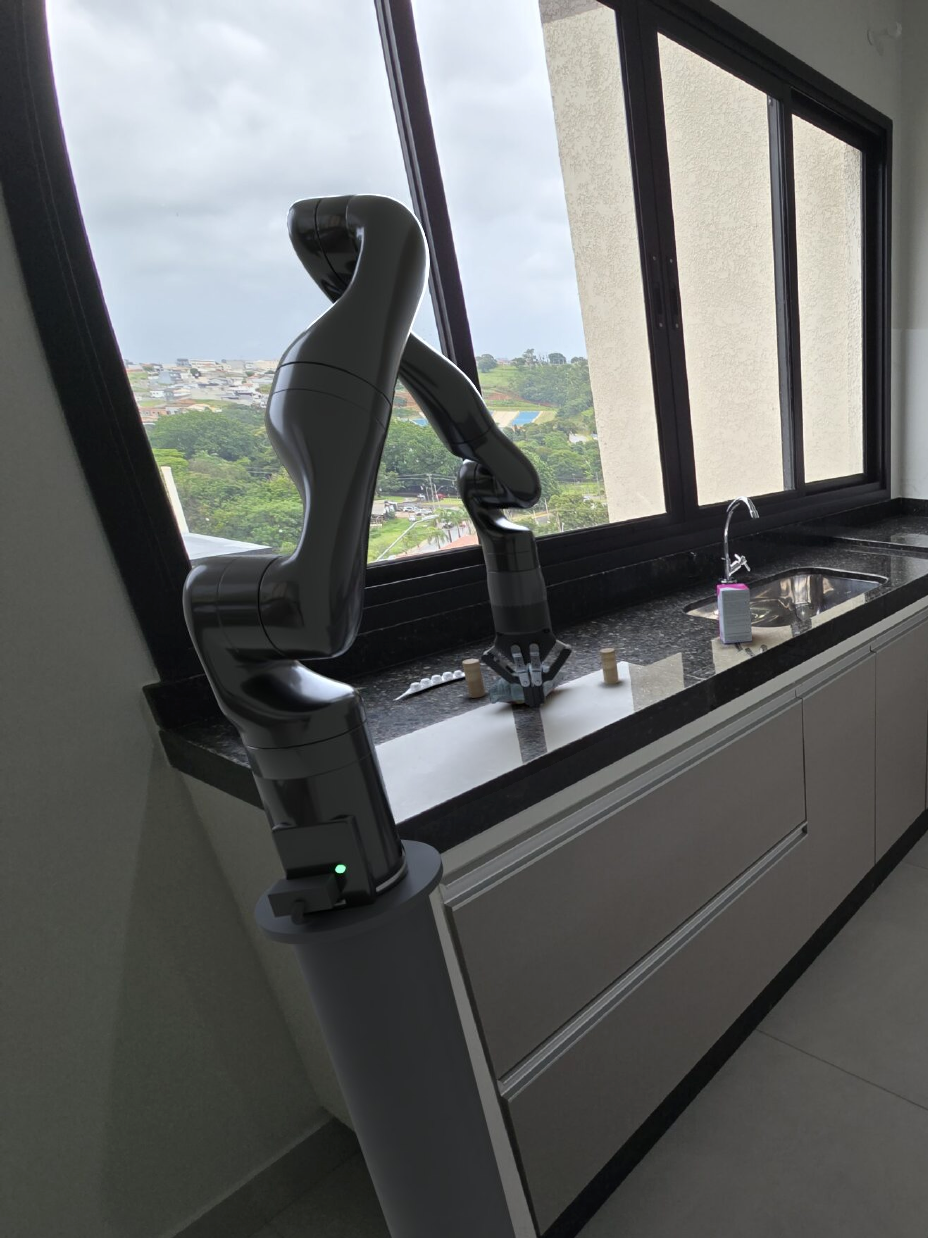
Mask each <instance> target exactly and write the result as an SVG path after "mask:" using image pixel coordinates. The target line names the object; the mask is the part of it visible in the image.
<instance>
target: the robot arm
mask: <svg viewBox="0 0 928 1238" xmlns="http://www.w3.org/2000/svg"><path fill="white" fill-rule="evenodd" d="M286 229H287V233H288V237H289V238H288V239H289V241H290V243H291V246H292V249H293V251H294V253H295V255H296V256H297V258H298V261H300V263H301V265H302V266H303V268H304V269H305V271H306V272H307V274H308V275H309V277H310V279H312V281H313V282H314V283H315V285H316V286H317V287H318V288H319V289H320V291H321V292H322V293H323V294H324V296H325V297H326V298H327V299H328V300H329V301H330V302H331V304H332V305H331V306H330V307H329V308H328V309H327V310H326V311H324V312H323V313H322V314H321V315H320V316H319V317H318V318H317V319H315V320H314V321H313V322H312V323H310V324H309V325H308V326H307V327H306V328H305V329H304V330H303V331H302V332H301V333H299V335H298V336H297V337H296V338H295V339H294V340H293V341H292V342H291V344H290V345H289V346H288V347H287V348H286V349H285V351H284V352H283V354H282V355H281V357H280V359H279V361H278V364H277V365H276V368H275V372H274V375H273V379H272V382H271V386H270V390H269V393H268V398H267V401H266V405H265V411H264V426H265V431H266V434H267V438H268V440H269V443H270V445H271V446H272V449H273V450H274V452H275V454H276V456H277V457H278V459H279V461H280V462H281V464H282V466H283V468H284V470H285V471H286V472H287V474H288V476H289V478H290V479H291V480H292V482H293V484H294V487H295V488H296V489H297V492H298V493H299V496H300V499H301V502H302V503H301V504H302V522H301V523H302V524H301V529H300V535H299V538H298V541H297V545H296V547H295V548H294V550H293V552H292V553H287V554H286V553H280V554H278V553H277V554H276V553H273V554H272V553H271V554H269V553H268V554H266V553H265V554H262V553H261V554H260V553H259V554H257V553H256V554H224V555H223V554H222V555H215V556H210V557H207V558H205V559H203V560H201V561H199V562H198V563H196V564H195V565H194V566H193V567H192V568H191V569H190V571H189V573H188V574H187V576H186V579H185V582H184V584H183V589H182V608H183V616H184V620H185V623H186V624H185V625H186V626H187V631H188V632H189V636H190V638H191V642H192V644H193V647H194V649H195V652H196V654H197V656H198V658H199V661H200V664H201V665H202V668H203V670H204V672H205V676H206V677H207V680H208V682H209V685H210V687H211V689H212V692H213V695H214V696H215V699H216V701H217V704H218V707H219V708H220V711H221V712H222V713H223V716H225V717H226V718H227V720H228V721H229V722H230V723H231V724H233V726H234V727H235V728H236V730H237V732H238V733H239V737H240V740H241V742H242V746H243V748H244V751H245V754H246V758H247V760H248V763H249V764H248V765H249V766H250V769H251V773H252V776H253V779H254V782H255V785H256V788H257V792H258V794H259V797H260V801H261V804H262V807H263V810H264V813H265V816H266V818H267V821H268V824H269V827H270V835H271V838H272V841H273V844H274V848H275V850H276V853H277V857H278V859H279V862H280V863H279V864H280V866H281V868H282V872H283V874H284V875H283V876H285V879H281V878H279V879H278V880H276V882H277V883H276V884H275V885H274V887H273V888H272V889H271V891H270V892H269V893H268V895H267V896H268V899H269V902H270V905H271V907H272V910H273V913H274V916H275V918H276V917H282V916H288V915H291V921H292V923H293V924H294V925H302V924H306V923H308V922H309V921H311V916H310V915H312V914H318V913H324V912H330V911H337V910H343V909H349V908H355V907H361V906H367V905H372V904H374V903H375V901H376V899H377V898H378V897H379V896H381V895H382V894H384V893H386V892H388V891H389V890H391V889H392V888H393V887H395V886H396V885H397V884H398V883H399V882H400V881H401V880H402V879H403V878H404V877H405V875H406V873H407V871H408V865H407V861H406V857H405V855H406V853H405V849H404V846H403V844H402V842H401V840H402V839H401V838H400V836H399V831H398V827H397V824H396V821H395V817H394V813H393V809H392V805H391V801H390V798H389V794H388V790H387V787H386V782H385V779H384V775H383V772H382V768H381V764H380V760H379V757H378V753H377V747H376V745H375V740H374V736H373V732H372V728H371V725H370V721H369V717H368V712H367V709H366V706H365V702H364V697H363V696H362V694H361V692H360V691H359V690H358V689H357V688H356V687H355V686H353V685H351V684H349V683H346V682H343V681H340V680H336V679H333V678H330V677H327V676H325V675H322V674H320V673H318V672H315V671H313V670H312V669H310V668H308V666H306V665H303V664H302V663H301V662H300V661H314V660H315V661H317V660H328V659H332V658H333V659H334V658H337V657H339V656H341V655H343V654H344V653H345V652H347V651H348V650H349V648H351V647H352V645H353V643H354V642H355V640H356V638H357V635H358V633H359V630H360V627H361V623H362V618H363V614H364V613H363V612H364V606H365V595H366V594H365V593H366V584H367V570H368V557H369V544H370V532H371V522H372V515H373V509H374V501H375V498H376V497H375V495H376V490H377V485H378V479H379V474H380V469H381V464H382V461H383V456H384V454H385V453H384V452H385V449H386V445H387V441H388V436H389V431H390V427H391V422H392V416H393V409H394V403H395V393H396V389H397V384H398V381H399V382H400V383H401V384H402V385H403V386H404V388H405V389H406V390H407V392H408V393H409V395H410V396H411V397H412V399H413V401H414V402H415V404H416V405H417V406H418V407H419V410H420V411H421V412H422V414H423V415H424V417H425V419H426V420H427V422H428V423H429V425H430V426H431V428H432V430H433V431H434V432H435V434H436V436H437V437H438V439H439V440H440V442H441V443H442V445H443V446H444V448H445V449H446V450H447V451H448V453H450V454H451V455H453V456H454V457H457V458H459V459H462V460H463V462H461V464H460V466H459V467H458V469H457V473H456V479H455V481H456V488H457V493H458V495H459V498H460V500H461V502H462V504H463V506H464V509H465V510H466V513H467V515H468V517H469V519H470V520H471V522H472V525H473V527H474V529H475V531H476V533H477V536H478V538H479V539H480V542H481V546H482V552H483V557H484V562H485V568H486V582H487V590H488V591H487V592H488V596H489V602H490V607H491V613H492V618H493V624H494V629H495V638H494V640H493V646H492V647H490V648H489V649H486V650H484V652H483V654H482V655H481V657H480V660H481V661H482V662H483V663H484V664H485V665H486V666H487V667H489V668H490V669H491V670H493V672H495V673H496V674H497V675H498V676H499V677H501V678H503V679H505V680H506V681H507V682H508V683H510V684H514V683H515V684H519V685H521V686H522V688H523V694H524V700H525V703H524V704H525V705H526V706H529V707H530V709H540V708H542V707H543V704H545V703H546V699H547V696H546V693H545V687H544V682H546V681H551V680H553V679H554V677H555V676H556V674H557V673H558V672H559V670H562V667H563V666H564V664H566V662H567V660H568V659H569V657H570V656H571V654H572V651H573V645H572V644H570V643H564V642H562V641H561V640H558V636H557V634H556V633H555V632H554V630H553V628H552V621H551V615H550V609H549V602H548V596H547V595H548V591H547V587H546V582H545V579H544V575H543V572H542V568H541V564H540V556H539V550H538V543H537V538H536V534H535V532H534V530H533V529H531V528H530V527H528V526H525V525H521V524H517V523H514V522H512V521H510V520H509V519H508V518H507V516H506V515H505V513H504V511H503V510H516V511H517V510H519V511H520V510H522V511H523V510H529V509H531V508H533V507H535V506H536V505H537V504H538V502H540V499H541V497H542V491H543V490H542V489H543V486H542V479H541V476H540V474H539V471H538V469H537V468H536V467H535V465H534V464H533V462H532V461H531V459H530V458H529V456H527V454H526V453H524V452H523V451H522V449H521V448H520V447H519V446H518V445H517V444H516V443H515V442H514V441H513V440H512V439H511V438H510V437H509V435H507V434H506V433H505V431H504V430H502V429H501V428H500V427H499V426H498V424H497V423H496V420H495V419H494V417H493V415H492V414H491V412H490V410H489V408H488V407H487V405H486V403H485V401H484V399H483V398H482V396H481V394H480V392H479V391H478V390H477V388H476V386H475V385H474V383H473V382H472V380H471V379H470V378H469V377H468V376H467V375H466V374H465V373H464V372H463V371H462V370H461V369H460V368H459V367H457V365H455V364H454V363H453V362H452V361H451V360H450V359H448V358H447V357H445V355H443V354H442V353H441V352H439V351H437V349H436V348H434V347H433V346H431V345H430V344H428V342H426V341H425V340H423V339H422V338H421V337H420V336H418V335H417V334H416V332H414V331H413V330H412V328H413V324H414V322H415V320H416V316H417V313H418V311H419V308H420V305H421V303H422V300H423V297H424V295H425V291H426V288H427V284H428V280H429V273H430V253H429V252H430V251H429V246H428V242H427V238H426V236H425V232H424V229H423V227H422V225H421V223H420V221H419V219H418V218H417V216H416V215H415V213H414V212H413V211H412V210H411V209H410V208H409V207H407V206H406V204H404V203H403V202H402V201H399V200H398V199H396V198H394V197H392V196H389V195H388V196H387V195H382V194H375V193H374V194H373V193H371V194H370V193H359V194H344V195H343V194H341V195H328V196H316V197H315V196H314V197H307V198H301V199H298V200H296V201H294V202H293V203H292V204H291V205H290V206H289V209H288V211H287V216H286ZM553 648H554V655H555V656H556V657H555V659H554V660H553V662H552V663H551V665H550V666H549V667H550V668H549V669H548V670H547V671H544V672H543V664H544V661H545V660H546V659H547V658H548V657H549V655H550V653H551V651H552V650H553ZM502 655H503V656H504V657H505V658H506V659H507V660H508V661H510V662H511V663H512V664H514V665H515V668H516V669H517V672H516V671H515V670H514V669H515V668H513V667H512V666H511V665H509V664H508V663H506V661H504V660H503V659H502V657H503V656H502ZM529 665H531V667H532V673H533V682H532V676H531V672H530V668H529ZM402 848H403V850H402ZM403 851H404V853H405V855H404V853H403Z"/></svg>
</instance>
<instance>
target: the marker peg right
mask: <svg viewBox="0 0 928 1238" xmlns="http://www.w3.org/2000/svg"><path fill="white" fill-rule="evenodd" d="M599 654H600V660H601V668H602V669H601V670H602V677H603V683H604V685H615V684H618V683H619V682H620V678H619V671H618V670H619V669H618V663H617V656H616V654H617V653H616V649H615V648H612V647H606V648H602V649H600V650H599Z"/></svg>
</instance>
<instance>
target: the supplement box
mask: <svg viewBox="0 0 928 1238" xmlns="http://www.w3.org/2000/svg"><path fill="white" fill-rule="evenodd" d="M716 595H717V612H718V613H717V614H718V627H719V639H720V641H721V642H722V644H723V645H725V646H726V645H734V644H735V645H736V644H745V643H751V642H753V634H752V633H753V632H752V631H753V630H752V611H751V593H750V588H749V587H748V586H747V585H746V584H745V583H731V584H717V585H716Z"/></svg>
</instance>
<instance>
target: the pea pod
mask: <svg viewBox="0 0 928 1238" xmlns="http://www.w3.org/2000/svg"><path fill="white" fill-rule="evenodd" d="M461 678H465V674H464V671H462V670H459V669H458V670H455V671H454V672H453V673H452V671H446V672H445V671H444V672H443V673H442V675H440V674H434V675H432V676H431V678H428V677H427V678H426V677H425V678H422V679H421V680H420V682H412V683H410V685H409V688H408V689H407V690H406V691H405V692H404V693H403V694H401V695H400V696H398V697H397V698H395V699H394V701H395V702H396V701H398V700H401V699H402V698H404V697H406V696H408V695H412V694H415V693H417V692H420V691H423V690H425V689H428V688H430V687H433V686H434V687H435V686H437V685H440V684H443V683H447V682H450V681H453V680H458V679H461Z"/></svg>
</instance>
